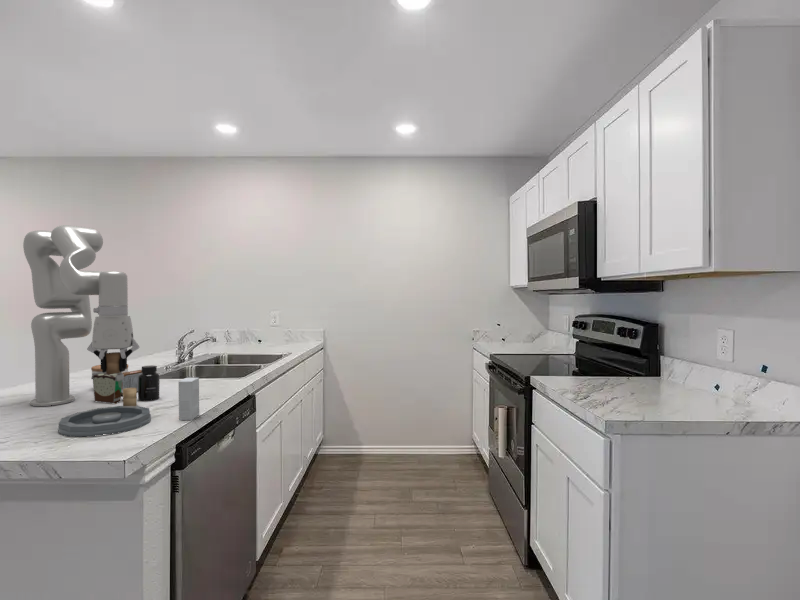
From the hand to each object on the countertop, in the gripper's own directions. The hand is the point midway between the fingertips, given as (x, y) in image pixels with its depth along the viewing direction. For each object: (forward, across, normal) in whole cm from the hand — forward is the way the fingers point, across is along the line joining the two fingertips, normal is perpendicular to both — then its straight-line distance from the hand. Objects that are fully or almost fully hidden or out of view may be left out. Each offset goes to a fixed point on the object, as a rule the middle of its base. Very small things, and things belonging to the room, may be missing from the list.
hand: (114, 370), depth 139 cm
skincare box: (+15, +22, -4) cm, 27 cm away
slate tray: (+15, 0, -6) cm, 16 cm away
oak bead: (+15, 0, +16) cm, 22 cm away
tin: (+15, -5, +38) cm, 42 cm away
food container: (+15, -9, +26) cm, 32 cm away
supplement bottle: (+15, +3, +26) cm, 30 cm away
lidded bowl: (+15, -16, +50) cm, 55 cm away
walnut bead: (0, 0, 0) cm, 0 cm away
